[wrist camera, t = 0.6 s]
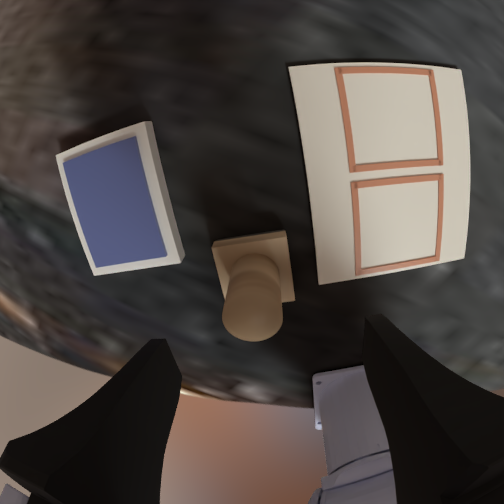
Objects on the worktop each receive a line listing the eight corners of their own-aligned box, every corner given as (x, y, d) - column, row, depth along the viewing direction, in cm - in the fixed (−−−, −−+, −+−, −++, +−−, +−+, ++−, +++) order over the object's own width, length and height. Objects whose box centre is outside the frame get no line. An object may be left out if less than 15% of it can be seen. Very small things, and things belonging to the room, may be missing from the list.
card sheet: (462, 256, 19) (464, 258, 18) (318, 282, 20) (319, 285, 20) (458, 70, 13) (461, 69, 13) (288, 67, 14) (288, 66, 14)
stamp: (293, 288, 21) (301, 346, 15) (229, 297, 21) (219, 354, 16) (285, 227, 19) (293, 272, 13) (215, 238, 19) (196, 285, 14)
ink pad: (185, 254, 20) (179, 265, 18) (101, 268, 20) (92, 277, 19) (151, 121, 16) (142, 121, 15) (65, 152, 17) (53, 156, 15)
